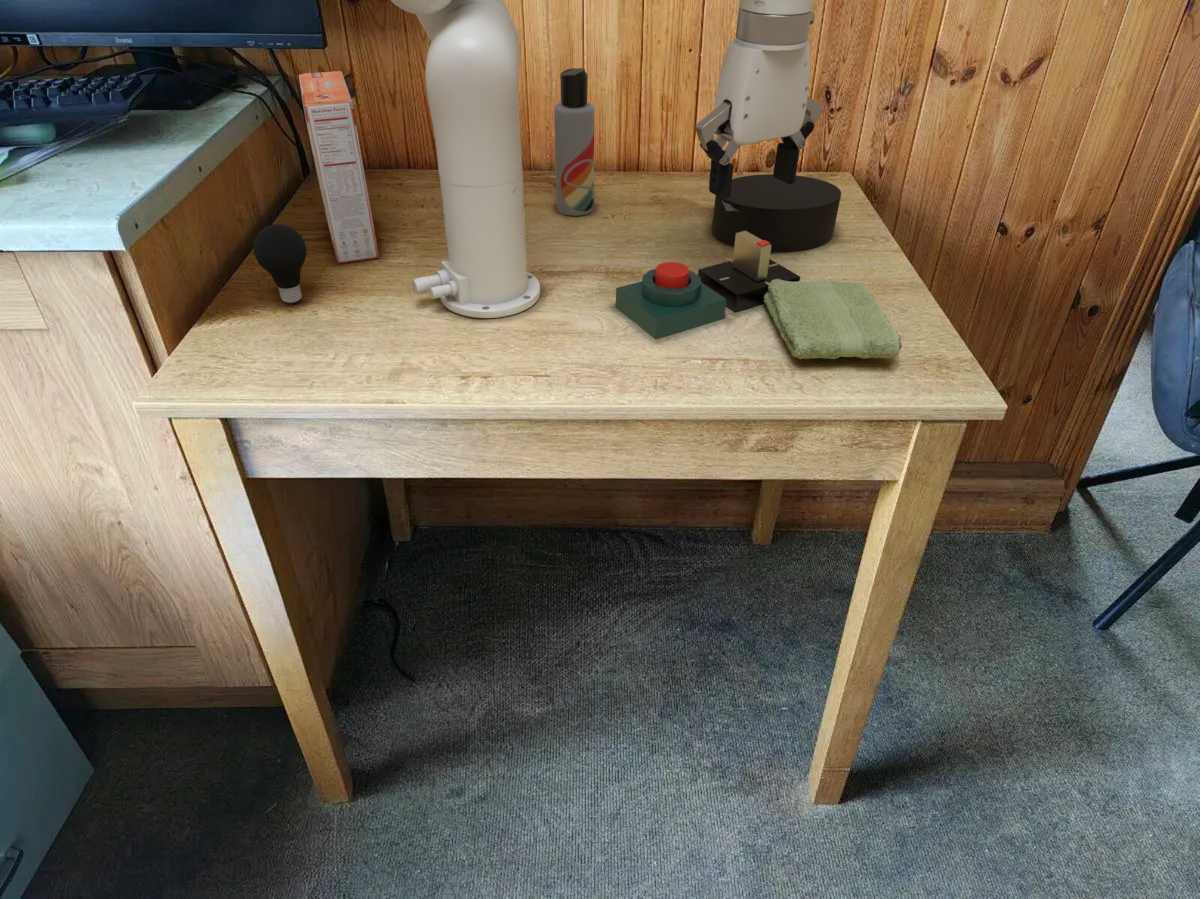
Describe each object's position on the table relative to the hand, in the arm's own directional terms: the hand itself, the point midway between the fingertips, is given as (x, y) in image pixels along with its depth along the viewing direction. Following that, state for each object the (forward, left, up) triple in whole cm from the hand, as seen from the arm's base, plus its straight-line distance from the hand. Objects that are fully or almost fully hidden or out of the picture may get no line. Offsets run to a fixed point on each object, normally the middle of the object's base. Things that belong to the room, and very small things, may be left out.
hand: (751, 187), depth 98 cm
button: (-11, 0, -10) cm, 14 cm away
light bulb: (-50, +25, -14) cm, 57 cm away
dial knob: (+1, 0, -11) cm, 11 cm away
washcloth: (+3, -13, -13) cm, 19 cm away
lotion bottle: (-5, +34, -14) cm, 37 cm away
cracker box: (-38, +39, -14) cm, 56 cm away
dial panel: (+1, 0, -14) cm, 14 cm away
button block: (-11, 0, -14) cm, 17 cm away
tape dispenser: (+16, +13, -14) cm, 25 cm away
